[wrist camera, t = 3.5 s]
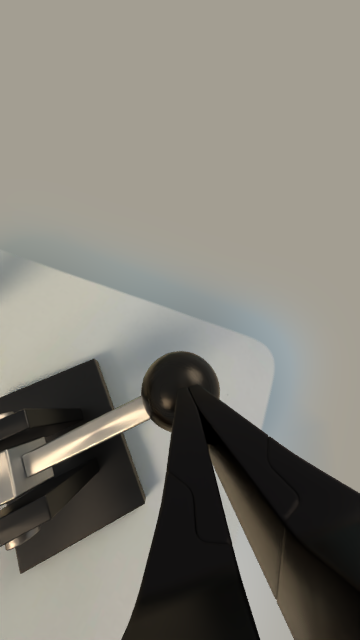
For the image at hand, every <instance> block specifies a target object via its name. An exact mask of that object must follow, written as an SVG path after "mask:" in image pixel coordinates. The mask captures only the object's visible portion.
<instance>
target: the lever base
mask: <svg viewBox="0 0 360 640" xmlns="http://www.w3.org/2000/svg"><path fill="white" fill-rule="evenodd" d="M112 410H114V406H113V403H112V400H111V397H110V395H109V392H108V389H107V386H106V383H105V380H104V378H103V375H102V372H101V369H100V366H99V363H98V361H97V360H95V359H92V360H90V361H87V362H85V363H82V364H80V365H78V366H75V367H73V368H70V369H68V370H66V371H63V372H61V373H58V374H56V375H54V376H51V377H49V378H46V379H44V380H42V381H39V382H37V383H34V384H32V385H30V386H27V387H25V388H22V389H20V390H18V391H15V392H13V393H10V394H8V395H5V396H3V397H1V398H0V452H1V451H3V450H5V449H7V448H10V447H13V446H16V445H19V444H22V443H25V442H28V441H31V440H34V439H37V438H40V437H45V441H46V443H48V442H50V441H52V440H54V439H56V438H58V437H60V436H62V435H64V434H66V433H68V432H70V431H72V430H74V429H76V428H78V427H80V426H82V425H84V424H86V423H88V422H90V421H92V420H94V419H96V418H98V417H100V416H102V415H104V414H106V413H108V412H110V411H112ZM52 468H53V472H54V477H53V478H51V479H49V480H47V481H46V482H44V483H42V484H41V485H39V486H37V487H35V488H34V489H32V490H30V491H28V492H27V493H25V494H23V495H21V496H20V497H18V498H16V499H14V500H12V501H10V502H8V503H7V506H6V507H5V508H3V509H2V510H0V547H1V546H3V545H5V547H6V550H11V549H13V548H15V549H16V554H17V559H18V564H19V570H20V574H21V573H23V572H25V571H27V570H29V569H30V568H32V567H34V566H36V565H37V564H39V563H41V562H43V561H45V560H46V559H48V558H50V557H52V556H53V555H55V554H57V553H59V552H60V551H62V550H64V549H66V548H67V547H69V546H71V545H73V544H75V543H76V542H78V541H80V540H82V539H83V538H85V537H87V536H89V535H90V534H92V533H94V532H96V531H97V530H99V529H101V528H103V527H104V526H106V525H108V524H110V523H112V522H113V521H115V520H117V519H119V518H120V517H122V516H124V515H126V514H127V513H129V512H131V511H133V510H134V509H136V508H138V507H140V506H142V505H143V504H145V500H146V497H145V494H144V491H143V488H142V485H141V483H140V480H139V477H138V474H137V471H136V468H135V466H134V463H133V460H132V457H131V454H130V451H129V449H128V446H127V443H126V440H125V437H124V434H123V433H120V434H118V435H116V436H114V437H112V438H110V439H108V440H106V441H104V442H102V443H100V444H98V445H96V446H94V447H92V448H89V449H87V450H85V451H83V452H81V453H79V454H77V455H75V456H73V457H71V458H69V459H67V460H65V461H63V462H61V463H58V464H56V465H54V466H52Z"/></svg>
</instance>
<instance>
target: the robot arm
mask: <svg viewBox="0 0 360 640" xmlns="http://www.w3.org/2000/svg"><path fill="white" fill-rule="evenodd" d="M212 464H213V465H212ZM213 466H214V468H215V471H216V473H217V475H218V477H219V479H220V481H221V483H222V486H223V488H224V490H225V492H226V494H227V496H228V498H229V501H230V503H231V505H232V507H233V509H234V511H235V513H236V516H237V518H238V520H239V522H240V524H241V526H242V528H243V530H244V533H245V535H246V537H247V539H248V541H249V543H250V545H251V547H252V550H253V552H254V554H255V556H256V558H257V561H258V563H259V565H260V567H261V569H262V571H263V573H264V575H265V578H266V579H267V582H268V584H269V586H270V588H271V591H272V593H273V595H274V597H275V599H276V600H277V604H278V606H279V608H280V610H281V612H282V614H283V616H284V618H285V621H286V623H287V625H288V627H289V629H290V631H291V634H292V636H293V638H294V640H360V493H358V492H356V491H355V490H353V489H351V488H350V487H348V486H346V485H345V484H343V483H341V482H340V481H338V480H336V479H335V478H333V477H331V476H330V475H328V474H326V473H325V472H323V471H321V470H320V469H318V468H316V467H315V466H313V465H311V464H310V463H308V462H307V461H305V460H303V459H302V458H300V457H299V456H297V455H295V454H294V453H292V452H291V451H289V450H288V449H287V448H285V447H284V446H282V445H281V444H279V443H278V442H277V441H275V440H274V439H273V438H271V437H268V435H267V434H266V433H264V432H263V431H262V430H260V429H259V428H257V427H256V426H255V425H253V424H252V423H251V422H249V421H248V420H247V419H245V418H244V417H242V416H241V415H240V414H238V413H237V412H236V411H234V410H233V409H232V408H230V407H229V406H227V405H226V404H225V403H223V402H222V401H221V400H219V399H218V398H216V397H215V396H214V395H212V394H211V393H210V392H208V391H207V390H206V389H204V388H203V387H201V386H200V385H199V384H195V385H192V386H189V387H188V388H187V387H185V388H181V389H178V390H177V395H176V403H175V410H174V418H173V425H172V433H171V440H170V448H169V455H168V463H167V472H166V477H165V484H164V490H163V496H162V502H161V507H160V511H159V516H158V520H157V525H156V528H155V532H154V536H153V540H152V544H151V548H150V552H149V556H148V560H147V564H146V568H145V572H144V575H143V579H142V583H141V587H140V590H139V594H138V597H137V600H136V604H135V607H134V610H133V613H132V615H131V618H130V621H129V623H128V626H127V628H126V630H125V633H124V635H123V637H122V639H121V640H260V638H259V634H258V631H257V628H256V625H255V622H254V618H253V615H252V612H251V609H250V606H249V602H248V599H247V596H246V592H245V589H244V586H243V583H242V580H241V576H240V572H239V569H238V565H237V561H236V557H235V553H234V549H233V547H232V541H231V537H230V533H229V529H228V525H227V521H226V517H225V513H224V509H223V505H222V501H221V497H220V493H219V489H218V485H217V481H216V477H215V473H214V469H213Z"/></svg>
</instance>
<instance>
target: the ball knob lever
mask: <svg viewBox="0 0 360 640" xmlns="http://www.w3.org/2000/svg"><path fill="white" fill-rule="evenodd" d="M195 384H199V385H200V386H201V387H203V388H204V389H206V390H207V391H208V392H210V393H211V394H212V395H214V396H215V397H216V398H218V399H219V397H220V387H219V382H218V378H217V376H216V373H215V372H214V370H213V368H212V367H211V366H210V365H209V364H208V363H207V362H206V361H205V360H204V359H203V358H201V357H200V356H198V355H196V354H193V353H190V352H184V351H177V352H171V353H168V354H166V355H163V356H162V357H160V358H158V359H157V360H156V361H155V362H154V363H153V364H152V365H151V366H150V367H149V369H148V370H147V372H146V374H145V376H144V379H143V383H142V389H141V395H142V396H140V397H138V398H136V399H134V400H132V401H130V402H128V403H126V404H124V405H122V406H120V407H118V408H116V409H114V410H112V411H110V412H108V413H106V414H104V415H102V416H100V417H98V418H96V419H94V420H92V421H90V422H88V423H86V424H84V425H82V426H80V427H78V428H76V429H74V430H72V431H70V432H68V433H66V434H64V435H62V436H60V437H58V438H56V439H54V440H52V441H50V442H48V443H46V441H45V437H40V438H37V439H34V440H31V441H28V442H25V443H22V444H19V445H16V446H13V447H10V448H7V449H5V450H3V451H1V452H0V506H1V505H4V504H6V503H8V502H10V501H12V500H14V499H16V498H18V497H20V496H21V495H23V494H25V493H27V492H28V491H30V490H32V489H34V488H35V487H37V486H39V485H41V484H42V483H44V482H46V481H47V480H49V479H51V478H53V477H54V472H53V468H52V466H54V465H56V464H58V463H61V462H63V461H65V460H67V459H69V458H71V457H73V456H75V455H77V454H79V453H81V452H83V451H85V450H87V449H89V448H92V447H94V446H96V445H98V444H100V443H102V442H104V441H106V440H108V439H110V438H112V437H114V436H116V435H118V434H120V433H123V432H125V431H127V430H129V429H131V428H133V427H135V426H137V425H139V424H141V423H143V422H145V421H147V420H149V419H151V420H152V421H153V422H154V423H155V424H156V425H158V426H159V427H161V428H163V429H164V430H167V431H169V432H172V425H173V418H174V410H175V403H176V395H177V390H178V389H181V388H185V387H187V388H188V387H189V386H192V385H195Z"/></svg>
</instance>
